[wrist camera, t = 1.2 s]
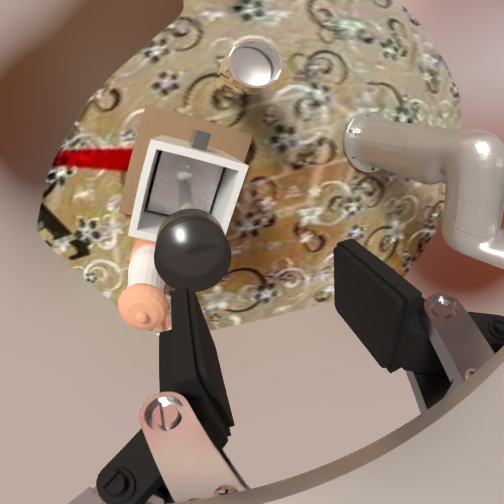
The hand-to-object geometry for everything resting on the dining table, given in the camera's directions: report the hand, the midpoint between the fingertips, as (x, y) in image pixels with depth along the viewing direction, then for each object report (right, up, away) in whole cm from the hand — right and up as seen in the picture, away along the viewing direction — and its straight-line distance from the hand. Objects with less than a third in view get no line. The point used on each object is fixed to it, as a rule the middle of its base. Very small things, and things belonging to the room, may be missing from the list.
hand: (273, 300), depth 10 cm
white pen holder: (-12, +15, +34) cm, 40 cm away
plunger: (-9, +10, +23) cm, 27 cm away
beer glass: (-4, +30, +30) cm, 42 cm away
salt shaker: (-19, +1, +39) cm, 44 cm away
